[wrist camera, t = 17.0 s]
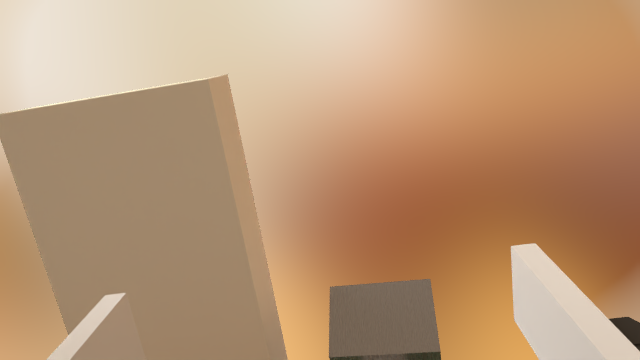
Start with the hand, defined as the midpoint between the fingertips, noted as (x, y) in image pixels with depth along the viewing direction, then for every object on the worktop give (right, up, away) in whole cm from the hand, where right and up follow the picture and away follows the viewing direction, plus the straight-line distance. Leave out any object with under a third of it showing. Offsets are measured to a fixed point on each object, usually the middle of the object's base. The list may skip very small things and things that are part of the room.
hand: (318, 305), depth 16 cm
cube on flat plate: (+2, -13, +18) cm, 23 cm away
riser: (-9, -19, +23) cm, 31 cm away
